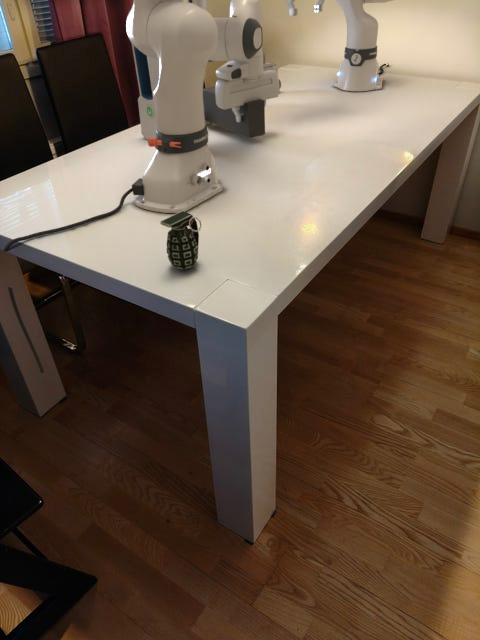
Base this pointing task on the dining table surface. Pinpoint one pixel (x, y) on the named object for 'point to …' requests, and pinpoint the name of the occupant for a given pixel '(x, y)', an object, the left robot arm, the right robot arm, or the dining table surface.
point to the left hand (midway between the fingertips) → (249, 119)
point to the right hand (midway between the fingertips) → (306, 14)
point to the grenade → (182, 240)
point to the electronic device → (146, 91)
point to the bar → (227, 119)
